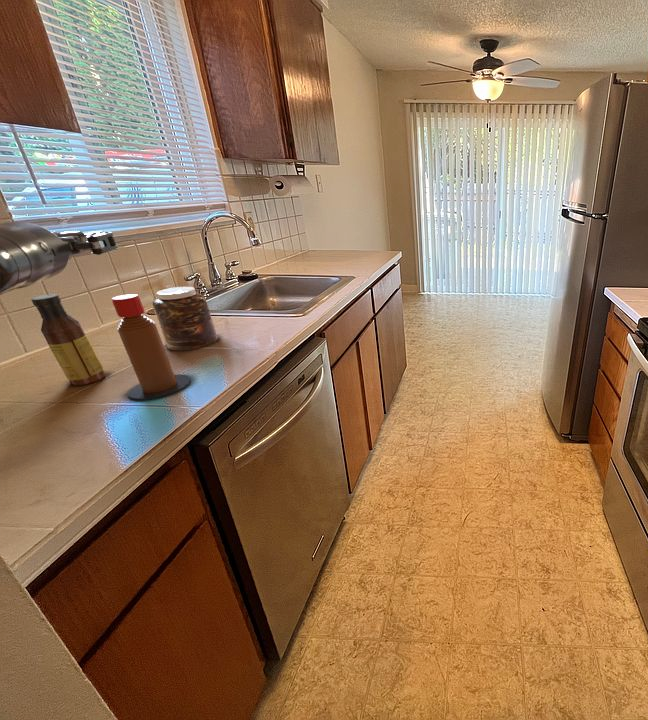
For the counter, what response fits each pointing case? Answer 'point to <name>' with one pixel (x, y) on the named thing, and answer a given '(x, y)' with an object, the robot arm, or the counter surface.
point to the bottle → (146, 353)
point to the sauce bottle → (68, 342)
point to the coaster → (182, 383)
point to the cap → (128, 305)
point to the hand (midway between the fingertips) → (71, 239)
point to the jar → (184, 318)
